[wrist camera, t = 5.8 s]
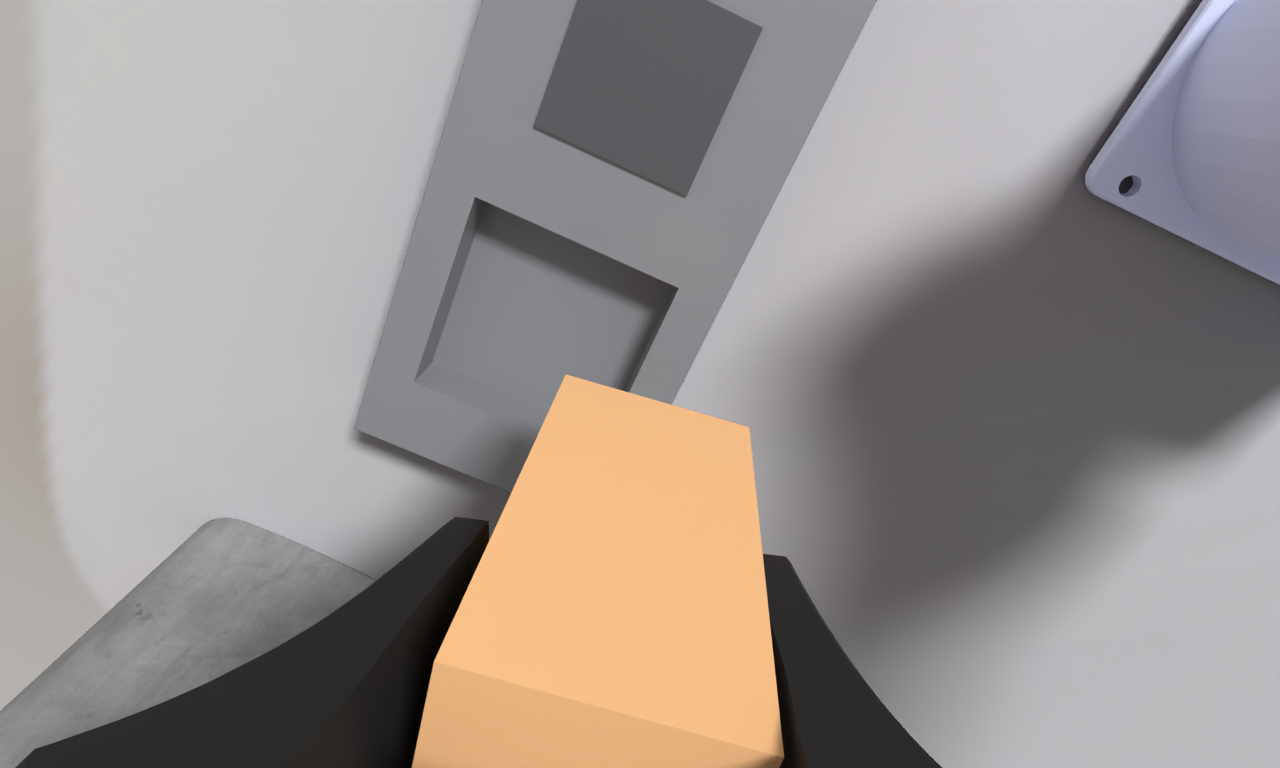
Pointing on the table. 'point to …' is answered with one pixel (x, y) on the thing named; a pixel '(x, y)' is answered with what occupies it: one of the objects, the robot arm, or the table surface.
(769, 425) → the table surface
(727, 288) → the power strip
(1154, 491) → the table surface
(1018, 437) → the table surface
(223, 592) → the hip flask
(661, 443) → the plug
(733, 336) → the table surface
